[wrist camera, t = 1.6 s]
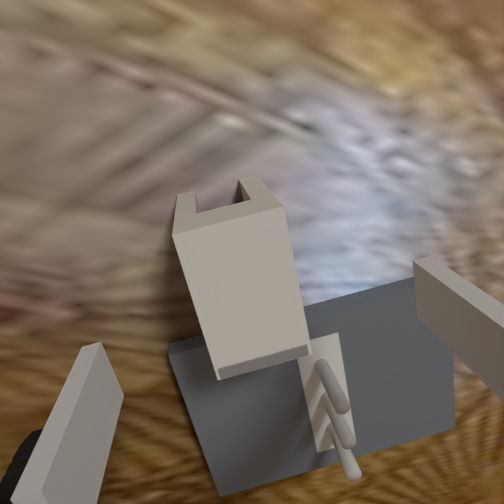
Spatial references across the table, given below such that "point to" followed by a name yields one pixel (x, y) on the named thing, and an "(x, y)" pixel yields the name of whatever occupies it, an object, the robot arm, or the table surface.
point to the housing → (242, 280)
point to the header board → (322, 392)
